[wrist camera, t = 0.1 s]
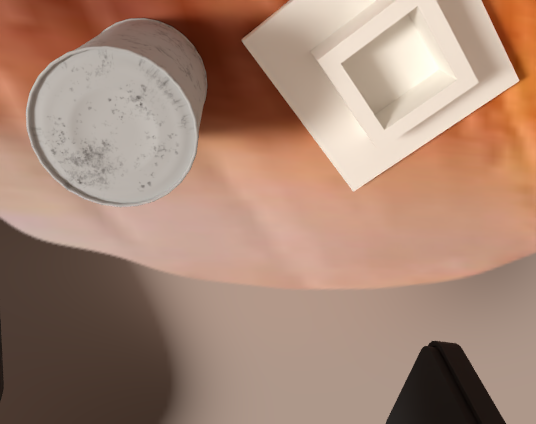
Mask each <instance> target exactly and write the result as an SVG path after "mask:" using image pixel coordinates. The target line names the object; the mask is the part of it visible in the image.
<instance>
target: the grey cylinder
mask: <svg viewBox="0 0 536 424" xmlns="http://www.w3.org/2000/svg"><path fill="white" fill-rule="evenodd" d="M206 93H207V76H206V71H205V67H204V64H203V61H202V59H201V57H200V55H199V53H198V52H197V50H196V48H195V47H194V45H193V44H192V43H191V42H190V41H189V40H188V39H187V38H186V37H185V36H184V35H183V34H182V33H180V32H179V31H178V30H176V29H175V28H173V27H172V26H169V25H167V24H165V23H163V22H160V21H157V20H152V19H147V18H134V19H127V20H124V21H120V22H117V23H115V24H113V25H112V26H110V27H108V28H107V29H105V30H104V31H103V32H102V33H101V34H100V35H98V36H96V37H95V38H93V39H92V40H90V41H88V42H87V43H85V44H84V45H82V46H80V47H79V48H77V49H76V50H73V51H70V52H67V53H66V54H64V55H63V56H61V57H59V58H58V59H56V60H54V61H53V62H51V63H50V64H49V65H48V66H47V67H46V68H45V69H44V71H43V72H42V73H41V74H40V75H39V76H38V78H37V80H36V81H35V83H34V85H33V87H32V89H31V91H30V94H29V99H28V103H27V108H26V121H27V131H28V135H29V138H30V142H31V145H32V148H33V150H34V152H35V153H36V155H37V157H38V159H39V161H40V163H41V164H42V165H43V167H44V168H45V169H46V170H47V171H48V173H49V174H50V175H51V176H52V177H53V178H54V179H55V180H56V181H57V182H59V183H60V184H61V185H62V186H64V187H65V188H66V189H67V190H69V191H71V192H72V193H74V194H76V195H78V196H80V197H82V198H83V199H86V200H89V201H92V202H95V203H98V204H101V205H107V206H115V207H129V206H139V205H143V204H146V203H150V202H154V201H155V200H157V199H159V198H161V197H163V196H165V195H167V194H169V193H170V192H171V191H172V190H173V189H174V188H176V187H177V186H178V185H179V184H180V183H181V182H182V181H183V179H184V178H185V176H186V175H187V174H188V172H189V171H190V169H191V167H192V164H193V161H194V159H195V156H196V153H197V145H198V138H199V135H198V133H199V127H200V122H201V116H202V110H203V105H204V103H205V100H206Z"/></svg>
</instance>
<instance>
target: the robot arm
mask: <svg viewBox="0 0 536 424" xmlns="http://www.w3.org/2000/svg"><path fill="white" fill-rule="evenodd" d="M0 322H1V321H0ZM3 385H4V382H3V363H2V343H1V323H0V400H1V397H2V394H3V388H4V387H3ZM386 424H506V423H505V421H504V419H503V418H502V416H501V415H500V413H499V411H498V409H497V408H496V406H495V404H494V402H493V401H492V399H491V397H490V396H489V394H488V392H487V390H486V389H485V387H484V385H483V384H482V382H481V380H480V379H479V377H478V375H477V373H476V372H475V370H474V368H473V367H472V365H471V363H470V361H469V360H468V358H467V356H466V355H465V353H464V351H463V350H462V348H461V347H460V346H459V345H458V344H456V343H448V342H440V341H432V342H431V343H429V345H428V346H424V347H423V348H422V349H421V352H420V353H419V355H418V358H417V360H416V361H415V364H414V366H413V368H412V370H411V372H410V374H409V376H408V378H407V380H406V382H405V384H404V386H403V388H402V390H401V392H400V394H399V397H398V399H397V401H396V403H395V405H394V407H393V409H392V411H391V413H390V415H389V417H388V419H387V422H386Z"/></svg>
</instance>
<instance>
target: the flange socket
mask: <svg viewBox="0 0 536 424" xmlns="http://www.w3.org/2000/svg"><path fill="white" fill-rule="evenodd" d="M242 42H243V44H244V45H245V46H246V48H247V49H248V51H249V52H250V53H251V55H252V56H253V57H254V59H255V60H256V61H257V63H258V64H259V65H260V67H261V68H262V69H263V71H264V72H265V73H266V75H267V76H268V77H269V79H270V80H271V81H272V83H273V84H274V86H275V87H276V88H277V90H278V91H279V92H280V94H281V95H282V96H283V98H284V99H285V100H286V102H287V103H288V104H289V106H290V107H291V108H292V110H293V111H294V112H295V114H296V115H297V116H298V118H299V119H300V121H301V122H302V123H303V125H304V126H305V127H306V129H307V130H308V131H309V133H310V134H311V135H312V137H313V138H314V139H315V141H316V142H317V143H318V145H319V146H320V147H321V149H322V150H323V152H324V153H325V154H326V156H327V157H328V158H329V160H330V161H331V162H332V164H333V165H334V166H335V168H336V169H337V170H338V172H339V173H340V174H341V176H342V177H343V178H344V180H345V181H346V182H347V184H348V185H349V187H350V188H351V189H352V191H353V192H354V191H355V190H357V189H358V188H360V187H361V186H363V185H364V184H366V183H367V182H369V181H370V180H372V179H373V178H375V177H376V176H378V175H379V174H381V173H382V172H384V171H385V170H387V169H388V168H390V167H391V166H393V165H394V164H396V163H397V162H399V161H400V160H402V159H403V158H405V157H406V156H408V155H409V154H411V153H412V152H414V151H415V150H417V149H418V148H420V147H421V146H423V145H424V144H426V143H427V142H429V141H430V140H432V139H433V138H435V137H436V136H437V135H439V134H440V133H442V132H443V131H445V130H446V129H448V128H449V127H451V126H452V125H454V124H455V123H457V122H458V121H460V120H461V119H463V118H464V117H466V116H467V115H469V114H470V113H472V112H473V111H475V110H476V109H478V108H479V107H481V106H482V105H484V104H485V103H487V102H488V101H490V100H491V99H493V98H494V97H496V96H497V95H499V94H500V93H502V92H503V91H505V90H506V89H508V88H509V87H511V86H512V85H514V84H515V83H517V82H518V81H519V79H518V77H517V75H516V72H515V70H514V68H513V66H512V64H511V62H510V60H509V58H508V56H507V53H506V51H505V49H504V47H503V45H502V43H501V41H500V39H499V36H498V34H497V32H496V30H495V28H494V26H493V24H492V22H491V20H490V17H489V15H488V13H487V11H486V9H485V7H484V5H483V3H482V0H289V1H288V2H287V3H286V4H285V5H283V6H282V7H281V8H280V9H278V10H277V11H276V12H275V13H273V14H272V15H271V16H270V17H268V18H267V19H266V20H265V21H264V22H262V23H261V24H260V25H259V26H257V27H256V28H255V29H254V30H252V31H251V32H250V33H249V34H248V35H246V36H245V37H244V38H243V39H242Z"/></svg>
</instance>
